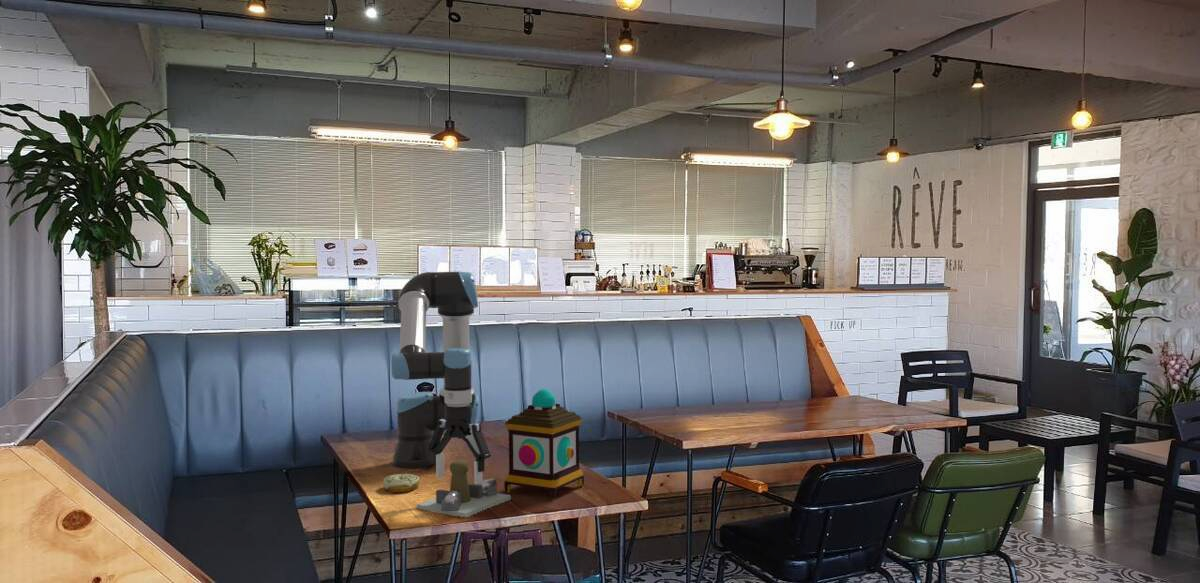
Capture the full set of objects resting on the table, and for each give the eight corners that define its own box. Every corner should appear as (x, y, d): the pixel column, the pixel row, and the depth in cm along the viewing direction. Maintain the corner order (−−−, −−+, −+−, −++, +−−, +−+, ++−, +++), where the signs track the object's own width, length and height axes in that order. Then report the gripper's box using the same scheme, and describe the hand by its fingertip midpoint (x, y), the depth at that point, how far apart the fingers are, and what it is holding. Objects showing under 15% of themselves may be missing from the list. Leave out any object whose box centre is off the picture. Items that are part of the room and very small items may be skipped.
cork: (445, 499, 248) (445, 460, 247) (466, 496, 250) (466, 457, 250) (452, 504, 242) (452, 464, 242) (473, 501, 245) (473, 462, 244)
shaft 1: (446, 505, 241) (446, 490, 241) (462, 505, 241) (462, 490, 241) (441, 510, 236) (441, 495, 236) (457, 511, 236) (457, 495, 236)
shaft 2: (480, 498, 248) (480, 483, 248) (472, 495, 252) (471, 480, 251) (498, 494, 252) (498, 479, 252) (489, 491, 255) (489, 476, 255)
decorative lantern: (555, 502, 248) (554, 396, 246) (497, 493, 257) (496, 391, 256) (590, 485, 265) (589, 386, 264) (535, 477, 275) (534, 382, 274)
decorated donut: (380, 494, 258) (380, 481, 258) (386, 485, 269) (386, 472, 268) (416, 493, 259) (416, 480, 258) (421, 484, 269) (421, 471, 269)
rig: (417, 508, 243) (416, 491, 242) (463, 491, 260) (463, 475, 259) (465, 517, 234) (465, 500, 234) (510, 499, 251) (510, 483, 251)
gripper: (414, 402, 248) (416, 477, 249) (485, 410, 236) (486, 489, 237) (432, 398, 255) (434, 471, 256) (502, 406, 242) (503, 482, 243)
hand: (459, 480), depth 246 cm, fingers open, 13 cm apart
